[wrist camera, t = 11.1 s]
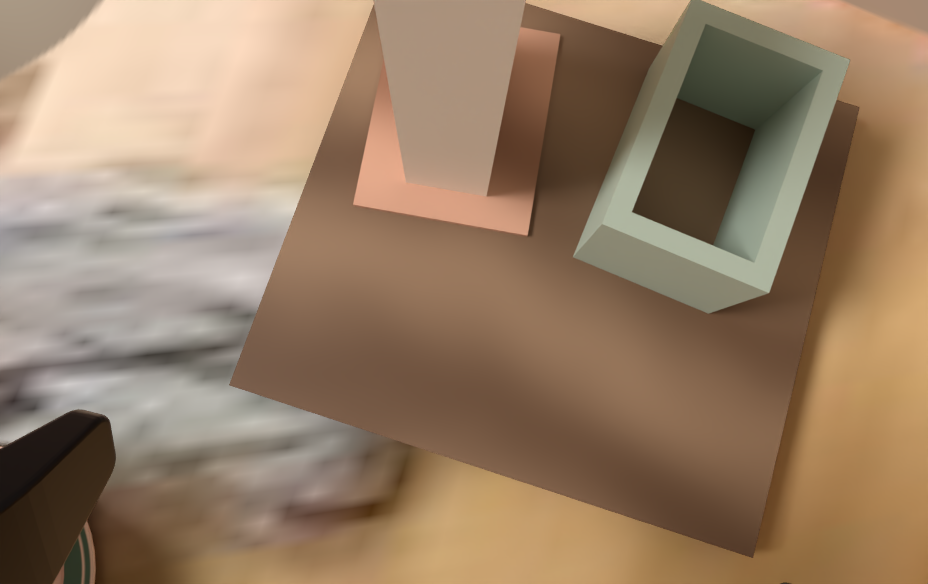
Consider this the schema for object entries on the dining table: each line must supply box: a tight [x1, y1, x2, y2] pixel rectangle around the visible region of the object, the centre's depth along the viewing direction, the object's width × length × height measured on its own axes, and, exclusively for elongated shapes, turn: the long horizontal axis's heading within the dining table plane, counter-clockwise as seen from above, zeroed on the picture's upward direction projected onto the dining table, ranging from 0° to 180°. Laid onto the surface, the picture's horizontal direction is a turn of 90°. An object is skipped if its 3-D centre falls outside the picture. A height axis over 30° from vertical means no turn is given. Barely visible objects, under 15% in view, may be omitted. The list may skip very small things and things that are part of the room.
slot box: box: [573, 0, 850, 314], centre depth 20 cm, size 7×5×4 cm, turn 157°
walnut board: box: [229, 3, 859, 558], centre depth 22 cm, size 15×16×1 cm
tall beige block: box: [374, 0, 526, 196], centre depth 16 cm, size 5×3×12 cm, turn 170°
